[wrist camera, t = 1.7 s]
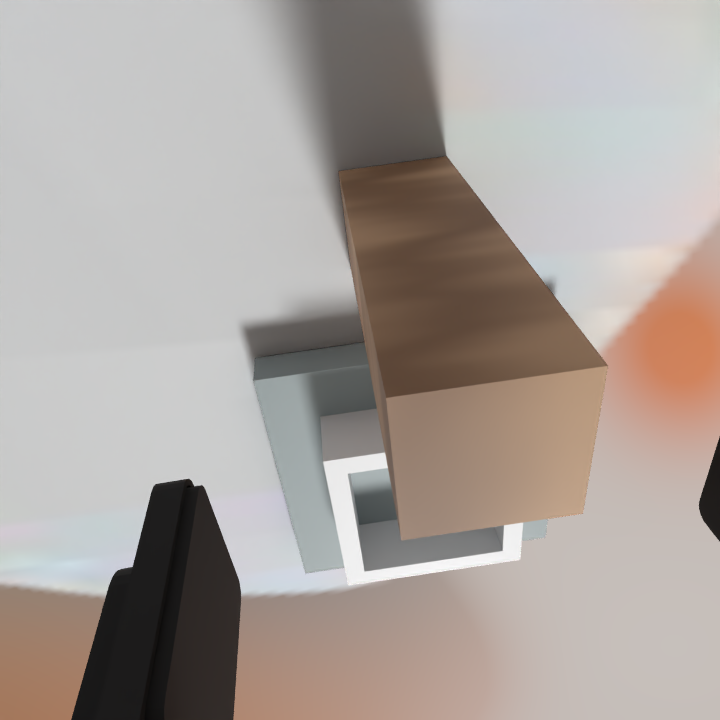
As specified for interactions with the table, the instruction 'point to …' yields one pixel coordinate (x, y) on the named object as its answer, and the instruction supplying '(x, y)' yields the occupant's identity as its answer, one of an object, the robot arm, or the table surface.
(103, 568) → the table surface
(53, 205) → the table surface
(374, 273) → the rail post
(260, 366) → the bracket
